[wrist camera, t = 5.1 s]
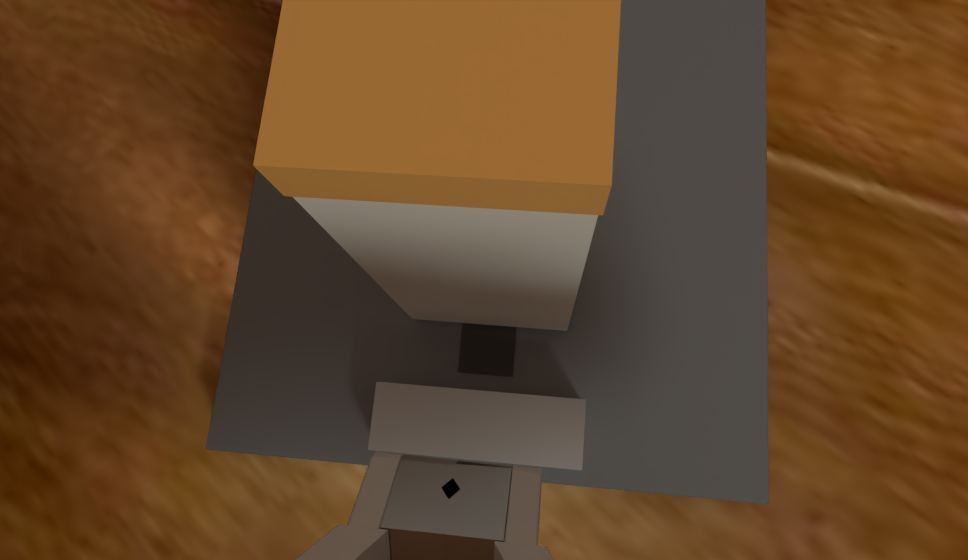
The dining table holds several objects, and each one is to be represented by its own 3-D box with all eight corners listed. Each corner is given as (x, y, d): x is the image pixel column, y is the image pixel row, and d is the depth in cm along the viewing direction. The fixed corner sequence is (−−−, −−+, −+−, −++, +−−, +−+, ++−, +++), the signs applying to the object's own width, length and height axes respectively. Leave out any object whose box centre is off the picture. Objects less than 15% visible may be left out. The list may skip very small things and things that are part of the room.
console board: (231, 448, 19) (182, 449, 16) (340, -192, 24) (316, -271, 21) (749, 499, 18) (786, 508, 15) (749, -190, 23) (777, -274, 20)
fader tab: (410, 320, 18) (252, 165, 8) (421, 225, 18) (287, -29, 8) (569, 333, 17) (611, 186, 7) (575, 235, 18) (621, -21, 8)
